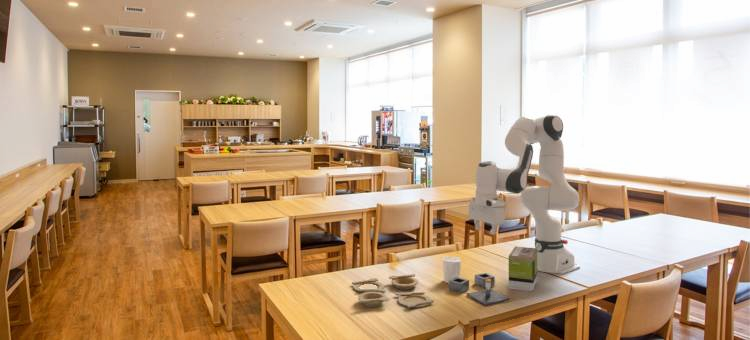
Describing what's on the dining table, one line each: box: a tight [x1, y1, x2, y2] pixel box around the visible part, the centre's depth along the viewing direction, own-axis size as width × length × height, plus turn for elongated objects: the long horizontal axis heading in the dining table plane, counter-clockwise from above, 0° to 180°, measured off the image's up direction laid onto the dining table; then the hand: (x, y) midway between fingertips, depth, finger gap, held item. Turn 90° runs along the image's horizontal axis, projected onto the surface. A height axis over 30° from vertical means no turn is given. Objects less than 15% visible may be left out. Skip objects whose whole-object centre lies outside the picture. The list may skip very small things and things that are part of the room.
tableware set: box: [351, 273, 435, 309], centre depth 199 cm, size 35×29×4 cm
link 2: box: [474, 272, 496, 289], centre depth 209 cm, size 6×6×4 cm
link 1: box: [448, 277, 470, 294], centre depth 204 cm, size 6×6×4 cm
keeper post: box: [466, 279, 511, 307], centre depth 194 cm, size 12×12×8 cm
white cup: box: [442, 256, 462, 284], centre depth 214 cm, size 8×8×10 cm
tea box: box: [508, 246, 538, 292], centre depth 208 cm, size 15×10×15 cm
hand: (485, 232), depth 208 cm, fingers open, 8 cm apart
